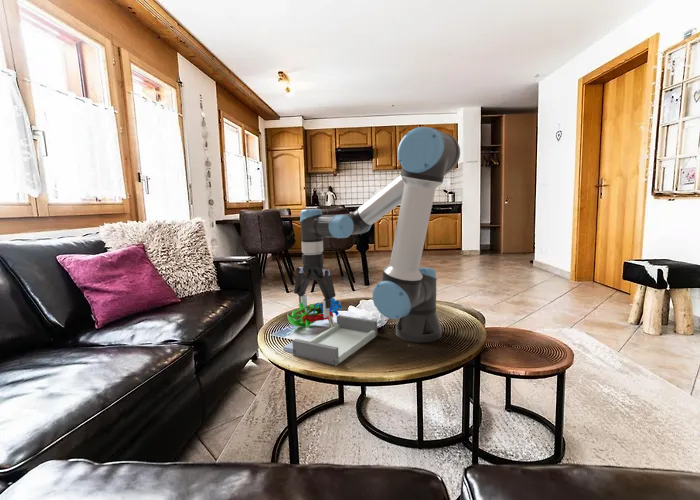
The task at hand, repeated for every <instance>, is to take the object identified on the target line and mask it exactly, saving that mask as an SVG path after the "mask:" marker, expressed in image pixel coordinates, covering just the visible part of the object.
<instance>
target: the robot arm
mask: <svg viewBox="0 0 700 500" xmlns="http://www.w3.org/2000/svg"><path fill="white" fill-rule="evenodd" d="M397 147H398V148H397V160H398V162H399V164H400V166H401V171H400V174H399V175H398V176H397V177H395V178H394V179H393V180H392V181H391V182H389V183H388V184H387V185H385V186H384V187H383V188H382V189H381V190H379V191H378V192H376V194H374V195H373V196H371V198H369V199H368V200H366V201H365V202H364V203H363V204H362V205H360V206H359V207H358V208H357V209H356V210H354V211H353V212H351V213H344V214H343V213H341V214H323V211H322V209H320V208H311V209H310V208H307V209H302V210H301V211H300V217H299V218H300V219H299V222H300V234H301V235H300V237H301V239H300V240H301V253H302V254H301V260H302V262H301V263H302V265H303V266H299V267H296V268H295V271H296V278H295V282H294V284H295V285H294V290H293V293H294V294H295V295H298V301H299V303H298V304H300V303H303V305H304V307H308V297H307V294H306V293H307V292H306V291H307V289H308V286H309V284H310V282H311V280H315V282H316V283H317V285H318V286H319V289H320V291H321V293H322V296H323V299H322V303H323V316H324V318H326V317H328V316H330V313H329V308H330V307H331V298H335V297H336V295H337V294H336V291H335V286H334V282H333V279H332V278H333V277H332V269H331V268H330V269H326V268H324V263H325V261H324V259H325V258H324V253H323V252H324V238H335V239H346V238H349V237H350V236H351V235H352V236H353V235H361V234H365V233H367V232H369V231H370V229H371V227H372V225H373V224H375V223H376V222H377V221H379V220H380V219H381V218H383V217H384V216H386V215H387V214H388V213H390V212H391V211H392V210H394V209H395V208H397V206H399V205H400V207H399V213H398V217H397V223H396V228H395V233H394V239H393V244H392V245H393V246H392V250H391V255H390V260H389V264H387V265H386V266H384V268H383V271H382V276H381V281H379V282H378V283H377V284H376V285H375V286H374V288H373V291H372V295H371V296H372V302H373V305H374V307H375V308H376V309H377V311H378V312H379V313H380V315H382V316H384V317H385V318H387V319H391V320H397V319H398V320H397V322H396V326H395V335H396V337H397V338H399V339H401V340H403V341H407V342H410V343H431V342H435V341H439V340H440V339H441V338H442V336H443V332H442V329H443V328H442V326H441V322H440V320H439V317H438V314H437V280H438V278H437V272H436V270H435V269H434V268H432V267H428V266H427V267H426V266H420V265H421V262H422V261H421V260H422V255H423V251H424V245H425V240H426V237H427V236H426V235H427V232H428V226H429V222H430V218H431V214H432V213H431V212H432V208H433V203H434V197H435V193H436V189H437V188H438V187H439V186H441V185H442V184H443V182H444V178H445V176H446V175H447V174H449V173H450V172H452V170H453V169H455V168H456V166H457V165H458V163H459V161H460V158H461V147H460V145H459V143H458V141H457V139H456V138H455V137H454V136H452V135H451V134H449V133H447V132H443V131H441V130H438V129H436V128H434V127H427V126H418V127H415V128H413V129H411V130H409V131H408V132H407V133H406V134H404V136H403V137H402V138H401V140H400V142H399V143H398V146H397ZM307 312H308V308H305V313H307ZM300 313H301V314H300V315H302V314H303V313H302V312H301V311H300Z"/></svg>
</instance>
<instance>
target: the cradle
mask: <svg viewBox="0 0 700 500" xmlns="http://www.w3.org/2000/svg"><path fill="white" fill-rule="evenodd" d="M377 336H378V321H377V320H375V319H374V320H373V319H368V318H360V317H353V316H349V315H348V316H347V315H340V314H338V315H337V316H336V324H335V325H334V326H333V327H331V328H328V329H326V330H324V331H322V332H320V333H319V334H317V335H316V336H314V337H312V338H310V339H309V340H305V341H304V339H300V340H299V338H294V339H292V341H291V342H292V344H293V353H292V356H293V357H297V358H302V359H307V360H311V361H315V362H318V363H323V364H327V365H330V366H331V365H332V366H335V367H336V366H338V365H339V364H341V363H342V362H343V361H344V360H346V359H347V358H348V357H350V356H351V355H353V354H355V353H356V352H357V351H358V350H361V348H362V347H364V346H365V345H366V344H368V343H369V342H370V341H372V340H373V339H375V338H376V337H377Z"/></svg>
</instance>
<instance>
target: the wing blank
mask: <svg viewBox="0 0 700 500" xmlns="http://www.w3.org/2000/svg"><path fill="white" fill-rule="evenodd" d="M298 339H299V338H298ZM299 340H301V339H299ZM303 340H304V339H303ZM304 341H306V340H304ZM282 351H284V352H287V353H291V354H293V344H292V341H291V342H290V343H288V344H285V345H284V346H283V349H282Z"/></svg>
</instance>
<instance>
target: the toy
mask: <svg viewBox="0 0 700 500" xmlns="http://www.w3.org/2000/svg"><path fill="white" fill-rule="evenodd" d="M305 308H307V309H309V310H307V312H306V313H305ZM337 309H339V310H340V311H342V309H343V308H342V305H341V301H340V300H339V299H338V300H336V299H335V297H333V298H331V307H330V308H329V313H330V316H328V317H326V318H324V316H323V302H321V303H319V302H317V303H315V305H314V304H309V306H307V307H304V305H303V303H298V309H297V310H296V309H293V311H292V312H291V315H290V313H287V320H288V323H289V324H291V326H292V325H293V326H295V327H306V328H308V329H309V328H310V327H311V325H312V324H315V323H316V322H318V321H325V320H327V321H328V324H329V327H330V328H331V327H333V326H334V325H336V324H335V321H334V319H333V318H334V314H335V317H337V316H338V315H340V313H339V311H338V310H337ZM298 312H300V313H301V312H302V313H303V314H298ZM297 318H298V319H297Z"/></svg>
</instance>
